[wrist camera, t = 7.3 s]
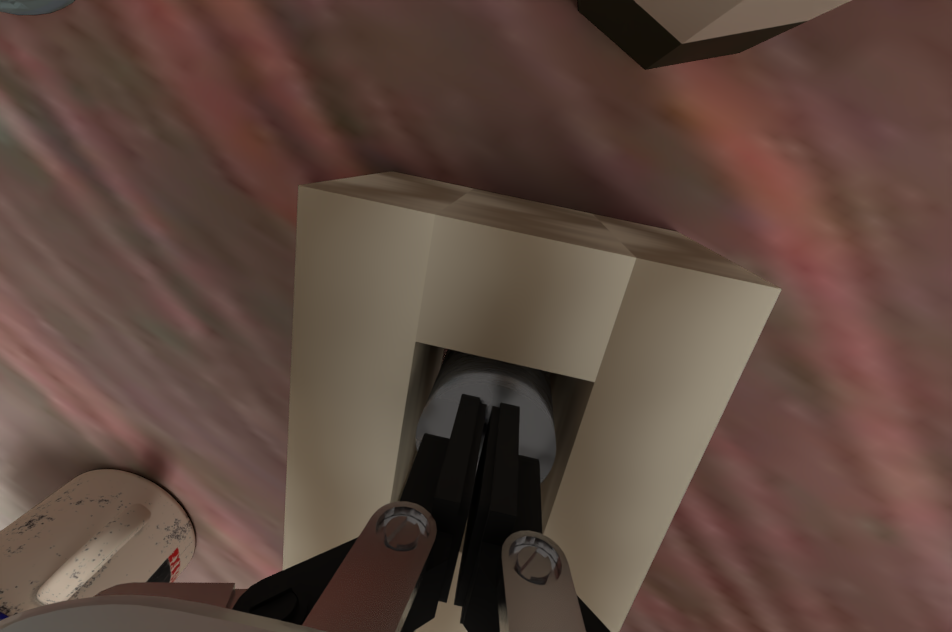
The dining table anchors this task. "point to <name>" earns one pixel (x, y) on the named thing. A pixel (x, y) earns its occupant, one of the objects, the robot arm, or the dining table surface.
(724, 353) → the birch block
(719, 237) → the dining table surface
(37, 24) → the dining table surface
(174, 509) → the teacup with lid
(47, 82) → the dining table surface
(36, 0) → the blue cup
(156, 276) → the dining table surface
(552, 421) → the graphite peg
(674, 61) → the wine bottle
